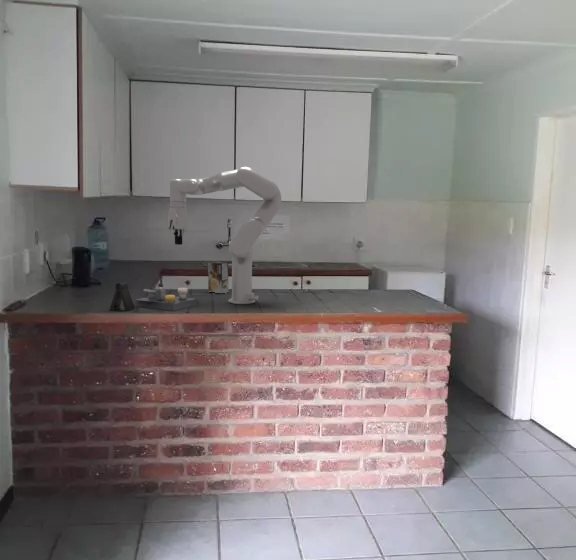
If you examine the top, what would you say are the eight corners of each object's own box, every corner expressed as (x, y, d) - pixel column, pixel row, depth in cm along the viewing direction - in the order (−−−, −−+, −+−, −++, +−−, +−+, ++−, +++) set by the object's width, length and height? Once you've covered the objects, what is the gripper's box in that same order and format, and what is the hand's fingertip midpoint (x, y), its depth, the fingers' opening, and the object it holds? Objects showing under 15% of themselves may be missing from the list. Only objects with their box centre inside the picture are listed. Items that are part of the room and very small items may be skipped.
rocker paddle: (163, 295, 276) (164, 291, 276) (150, 294, 268) (151, 289, 268) (155, 294, 278) (156, 290, 279) (142, 293, 270) (143, 288, 271)
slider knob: (165, 298, 269) (165, 287, 268) (161, 299, 266) (160, 288, 266) (160, 297, 270) (160, 287, 270) (155, 298, 268) (155, 287, 267)
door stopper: (109, 310, 258) (108, 283, 256) (116, 307, 264) (115, 281, 262) (128, 311, 256) (128, 283, 254) (135, 308, 262) (134, 282, 260)
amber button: (177, 306, 265) (177, 295, 264) (170, 308, 261) (170, 296, 260) (169, 305, 267) (169, 294, 266) (163, 307, 263) (162, 295, 262)
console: (196, 305, 273) (196, 295, 272) (173, 310, 258) (173, 301, 257) (159, 300, 283) (159, 291, 283) (134, 306, 268) (134, 296, 268)
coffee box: (229, 292, 311) (229, 262, 308) (222, 294, 305) (222, 263, 303) (214, 291, 315) (214, 261, 313) (207, 293, 309) (207, 262, 307)
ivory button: (189, 299, 272) (189, 288, 272) (183, 300, 268) (183, 289, 268) (181, 298, 274) (181, 287, 274) (175, 299, 270) (175, 288, 270)
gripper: (181, 205, 287) (182, 243, 290) (161, 205, 274) (162, 245, 277) (194, 205, 284) (194, 243, 286) (174, 205, 271) (174, 245, 273)
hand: (178, 244), depth 281 cm, fingers closed
